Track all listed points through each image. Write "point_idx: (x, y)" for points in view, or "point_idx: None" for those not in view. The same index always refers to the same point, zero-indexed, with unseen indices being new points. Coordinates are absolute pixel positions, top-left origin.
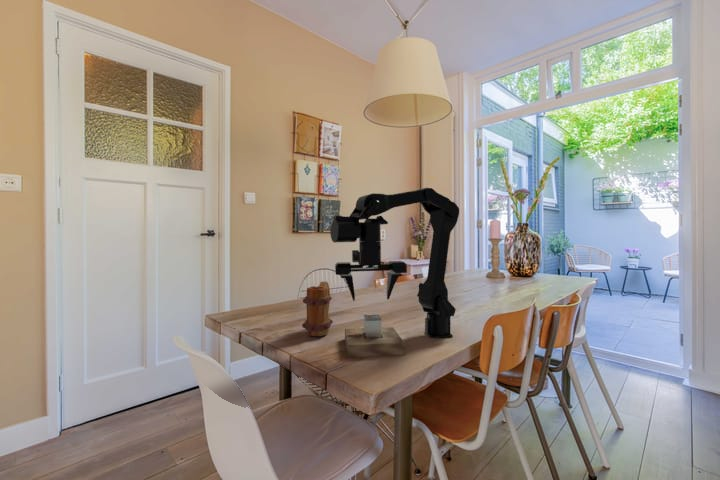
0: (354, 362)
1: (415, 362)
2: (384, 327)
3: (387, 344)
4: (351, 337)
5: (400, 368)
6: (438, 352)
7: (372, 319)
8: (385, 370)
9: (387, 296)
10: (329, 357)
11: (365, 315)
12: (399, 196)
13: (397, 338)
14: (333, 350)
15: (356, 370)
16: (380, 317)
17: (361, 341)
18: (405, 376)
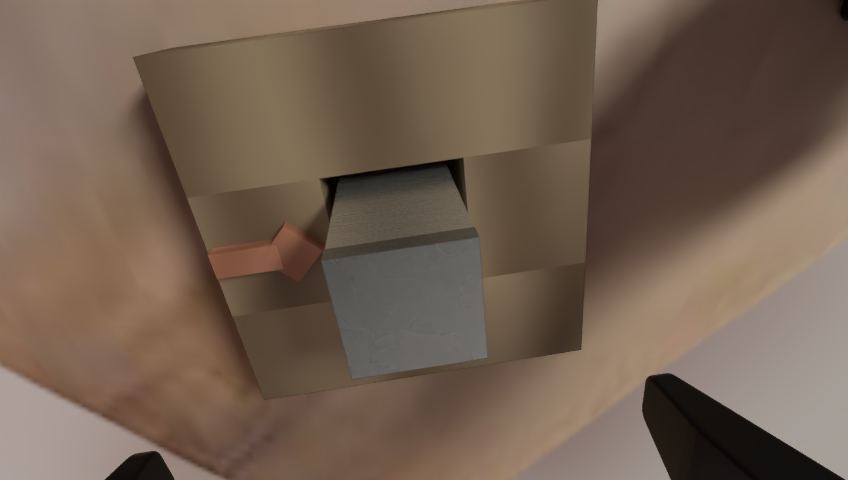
0: (317, 397)
1: (579, 379)
2: (517, 6)
3: (483, 362)
4: (255, 283)
5: (505, 428)
6: (732, 270)
7: (410, 365)
8: (446, 446)
9: (663, 451)
10: (180, 357)
11: (339, 278)
12: None
13: (560, 286)
14: (166, 270)
15: (335, 455)
16: (484, 335)
17: (334, 347)
18: (509, 475)
